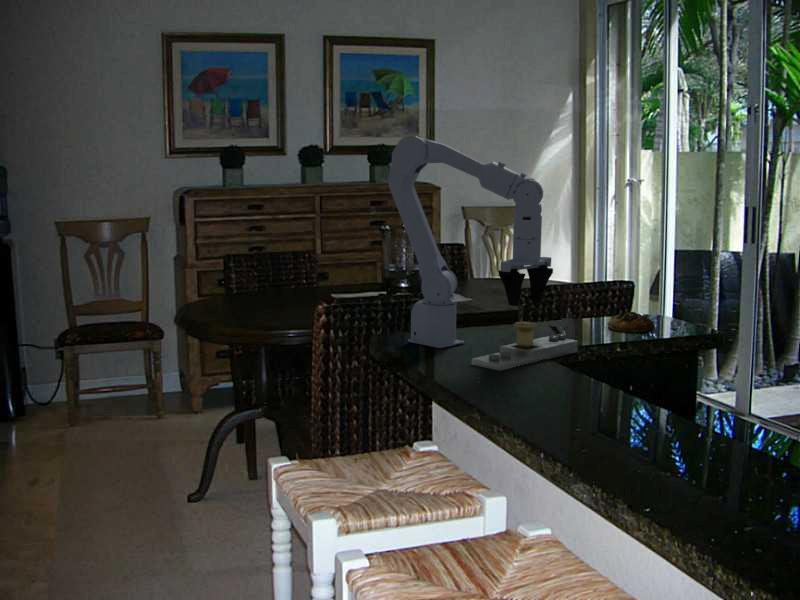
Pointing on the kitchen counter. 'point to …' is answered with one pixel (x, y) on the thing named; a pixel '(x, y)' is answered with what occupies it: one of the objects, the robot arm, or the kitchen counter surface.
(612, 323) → the bread roll
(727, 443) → the kitchen counter surface
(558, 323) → the caliper
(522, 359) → the square window plate
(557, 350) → the right chain end
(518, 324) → the pin
